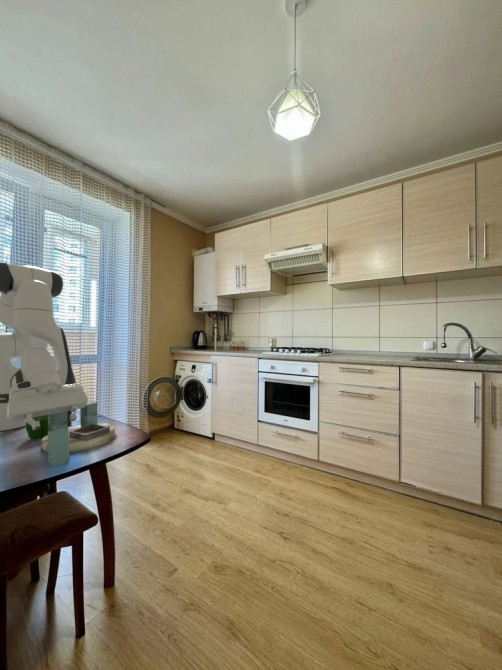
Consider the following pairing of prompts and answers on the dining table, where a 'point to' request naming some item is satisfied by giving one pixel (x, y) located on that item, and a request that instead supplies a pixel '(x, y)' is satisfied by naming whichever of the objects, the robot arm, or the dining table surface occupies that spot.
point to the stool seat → (81, 429)
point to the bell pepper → (42, 430)
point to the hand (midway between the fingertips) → (56, 423)
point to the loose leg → (58, 447)
